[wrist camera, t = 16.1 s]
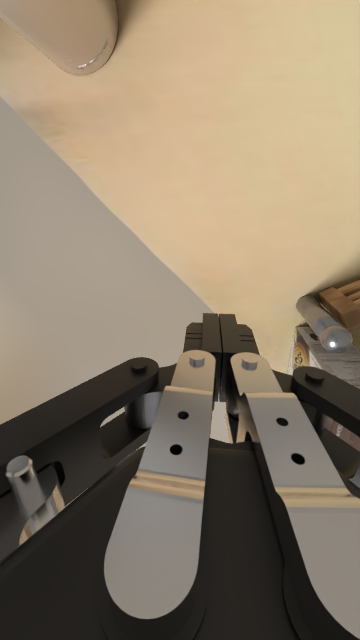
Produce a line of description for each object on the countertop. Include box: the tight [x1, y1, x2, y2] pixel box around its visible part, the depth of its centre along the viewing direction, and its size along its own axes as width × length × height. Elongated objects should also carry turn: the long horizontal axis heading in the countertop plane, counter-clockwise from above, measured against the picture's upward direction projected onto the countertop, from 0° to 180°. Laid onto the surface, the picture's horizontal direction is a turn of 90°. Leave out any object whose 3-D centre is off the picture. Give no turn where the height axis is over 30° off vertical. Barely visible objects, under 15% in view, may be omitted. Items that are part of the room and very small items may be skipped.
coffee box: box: [288, 327, 360, 452], centre depth 36 cm, size 9×6×16 cm
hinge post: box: [296, 296, 353, 353], centre depth 35 cm, size 3×3×12 cm
